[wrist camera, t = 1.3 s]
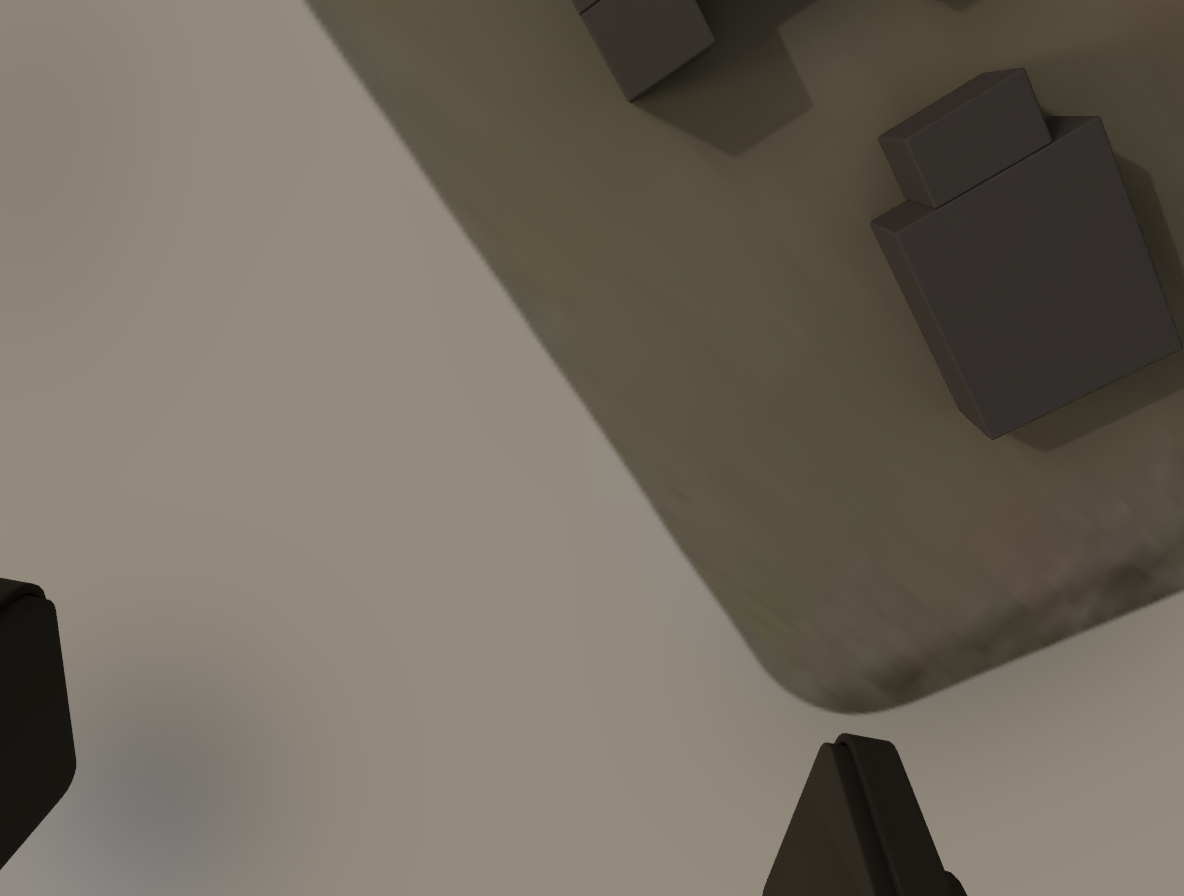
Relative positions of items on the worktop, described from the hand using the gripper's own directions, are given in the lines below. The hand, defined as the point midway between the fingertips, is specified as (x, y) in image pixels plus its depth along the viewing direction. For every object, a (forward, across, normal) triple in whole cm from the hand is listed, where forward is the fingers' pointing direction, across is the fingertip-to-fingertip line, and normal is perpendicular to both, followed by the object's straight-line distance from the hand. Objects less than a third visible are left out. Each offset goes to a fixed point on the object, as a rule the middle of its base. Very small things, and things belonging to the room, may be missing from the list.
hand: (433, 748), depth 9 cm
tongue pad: (+24, -15, -5) cm, 29 cm away
